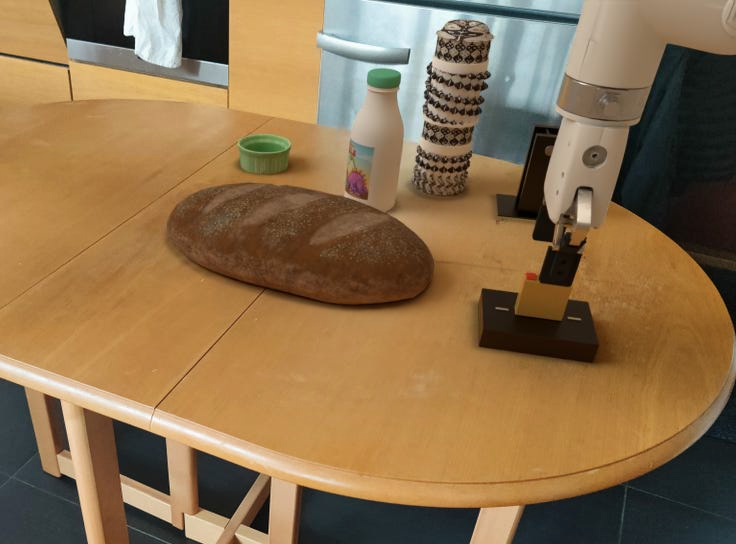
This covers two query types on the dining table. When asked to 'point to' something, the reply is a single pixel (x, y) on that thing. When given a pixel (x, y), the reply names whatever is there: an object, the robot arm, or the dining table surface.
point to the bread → (302, 243)
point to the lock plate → (536, 329)
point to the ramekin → (264, 153)
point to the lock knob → (541, 299)
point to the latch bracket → (530, 177)
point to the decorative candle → (452, 106)
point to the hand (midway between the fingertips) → (550, 261)
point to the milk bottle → (376, 143)
